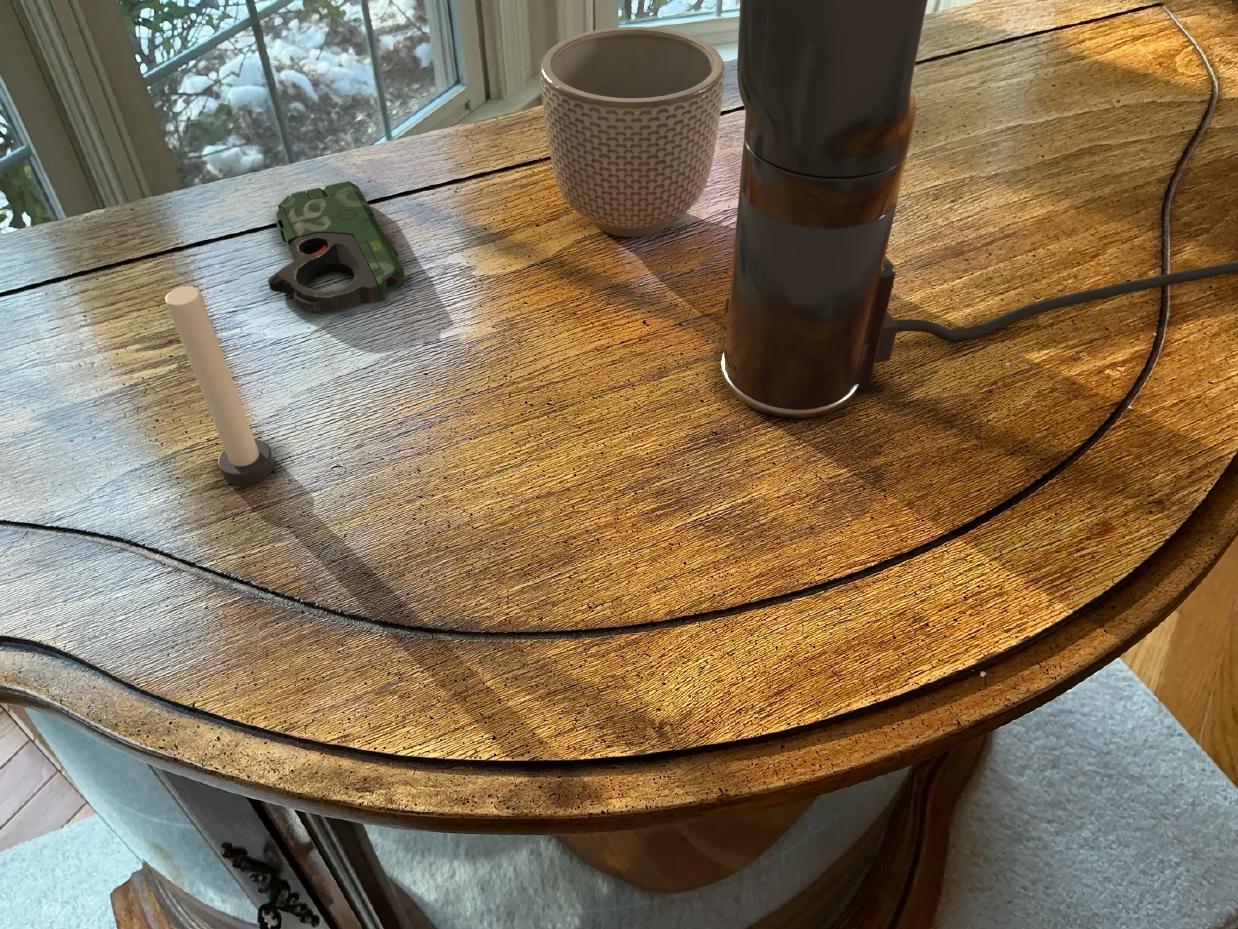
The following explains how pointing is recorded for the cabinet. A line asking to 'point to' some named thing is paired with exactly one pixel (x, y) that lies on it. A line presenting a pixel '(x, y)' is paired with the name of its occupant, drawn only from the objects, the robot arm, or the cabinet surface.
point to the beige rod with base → (218, 390)
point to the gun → (334, 248)
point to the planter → (632, 124)
